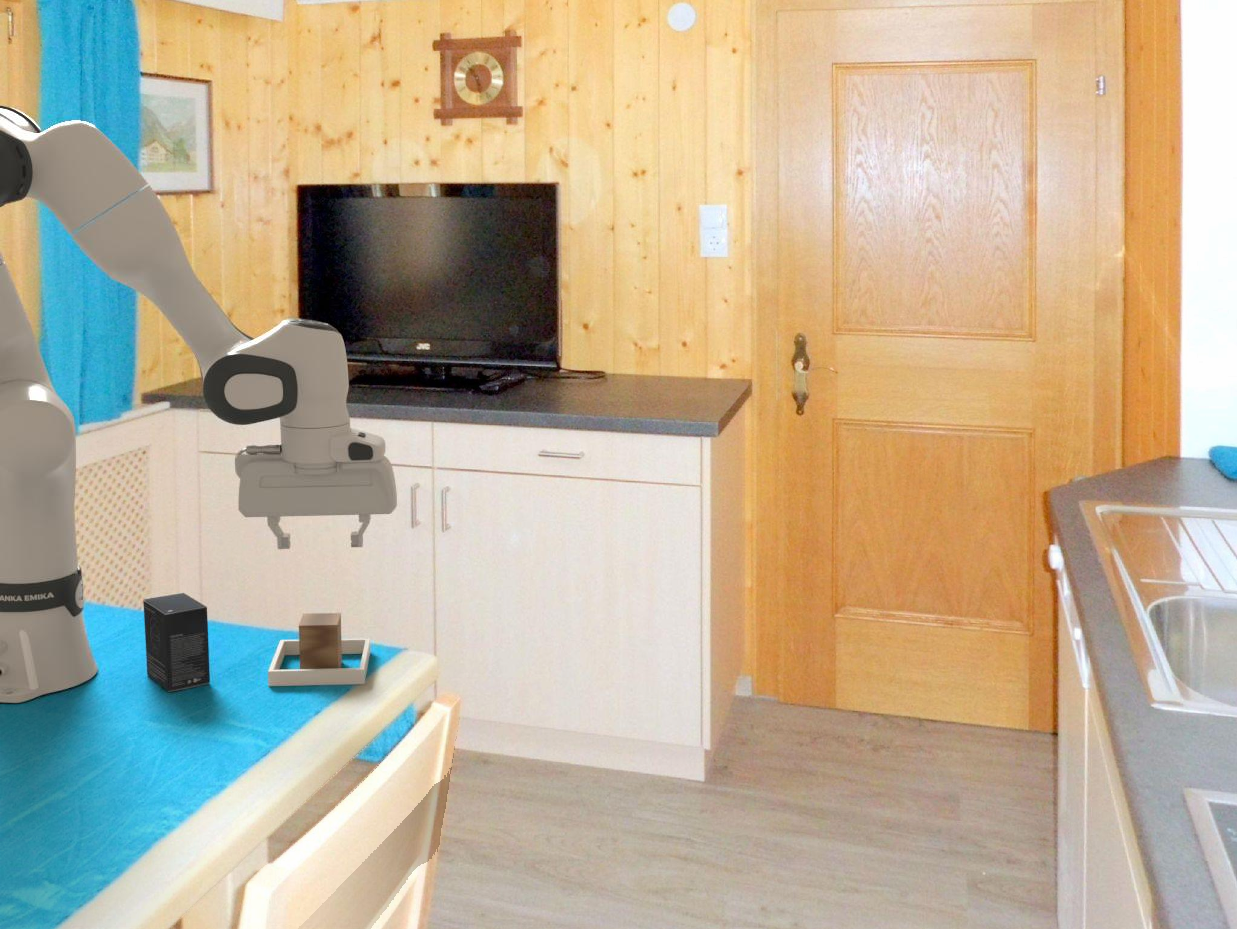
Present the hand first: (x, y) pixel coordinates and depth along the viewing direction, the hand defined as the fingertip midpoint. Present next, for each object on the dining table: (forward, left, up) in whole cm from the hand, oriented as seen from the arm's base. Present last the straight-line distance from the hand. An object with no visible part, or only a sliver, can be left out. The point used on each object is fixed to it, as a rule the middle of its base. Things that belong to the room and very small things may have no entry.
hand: (320, 547), depth 176 cm
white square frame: (0, 0, -17) cm, 17 cm away
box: (-18, -3, -17) cm, 25 cm away
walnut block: (0, 0, -17) cm, 17 cm away
